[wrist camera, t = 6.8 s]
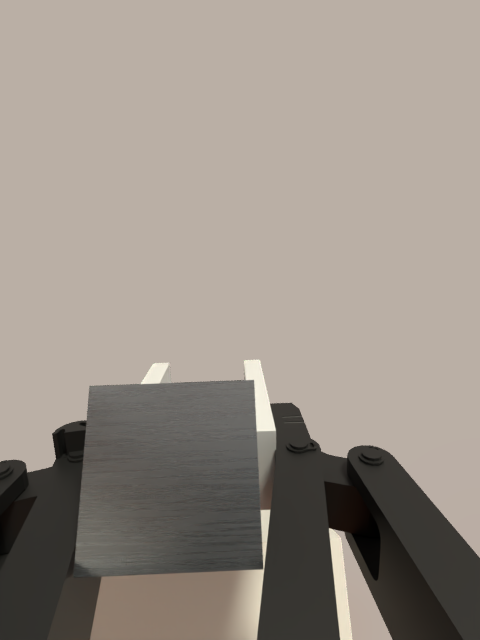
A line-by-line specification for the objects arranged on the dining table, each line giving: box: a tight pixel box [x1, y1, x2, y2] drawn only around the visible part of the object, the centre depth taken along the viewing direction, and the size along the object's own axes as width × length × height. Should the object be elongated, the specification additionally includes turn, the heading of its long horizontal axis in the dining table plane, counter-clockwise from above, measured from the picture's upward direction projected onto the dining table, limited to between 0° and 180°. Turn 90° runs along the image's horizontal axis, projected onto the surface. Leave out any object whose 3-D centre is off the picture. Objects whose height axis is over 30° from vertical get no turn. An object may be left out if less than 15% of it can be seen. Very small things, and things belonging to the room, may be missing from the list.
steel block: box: [73, 380, 263, 578], centre depth 22 cm, size 30×4×4 cm, turn 0°
